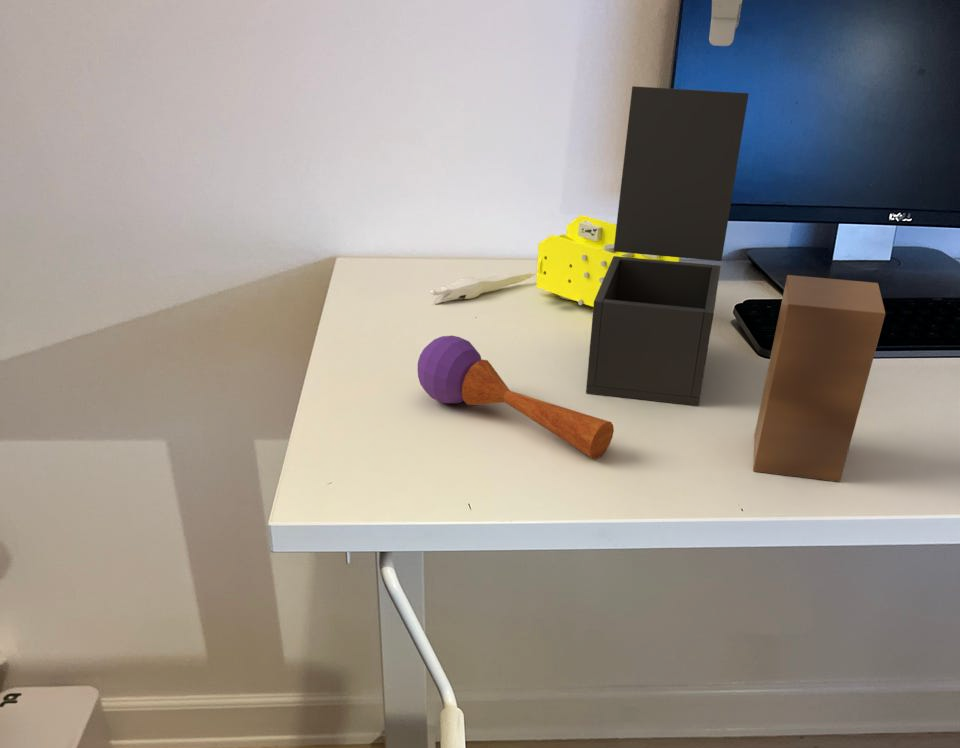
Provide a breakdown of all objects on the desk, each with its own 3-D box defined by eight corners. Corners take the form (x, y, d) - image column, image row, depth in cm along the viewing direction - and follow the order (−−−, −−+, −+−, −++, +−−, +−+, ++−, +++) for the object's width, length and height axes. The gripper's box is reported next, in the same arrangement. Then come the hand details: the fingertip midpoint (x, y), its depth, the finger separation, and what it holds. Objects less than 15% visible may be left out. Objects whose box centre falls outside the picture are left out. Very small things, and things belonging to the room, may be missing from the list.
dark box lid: (748, 93, 90) (748, 95, 95) (632, 86, 92) (637, 88, 96) (721, 261, 97) (722, 255, 101) (613, 251, 99) (618, 246, 103)
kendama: (581, 428, 79) (400, 345, 88) (579, 486, 84) (407, 401, 93) (624, 393, 82) (445, 315, 91) (620, 451, 87) (449, 371, 96)
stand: (836, 444, 87) (878, 282, 78) (839, 482, 81) (885, 313, 73) (754, 434, 88) (787, 274, 79) (752, 471, 82) (787, 303, 74)
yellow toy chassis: (674, 320, 110) (685, 242, 105) (642, 332, 107) (651, 253, 102) (566, 284, 119) (571, 210, 114) (533, 294, 116) (537, 219, 110)
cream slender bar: (437, 308, 112) (437, 291, 110) (424, 301, 113) (424, 284, 112) (541, 284, 119) (542, 268, 117) (528, 278, 120) (529, 262, 119)
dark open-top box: (698, 406, 92) (713, 312, 87) (585, 393, 94) (593, 300, 89) (706, 352, 103) (720, 265, 97) (605, 341, 105) (613, 255, 99)
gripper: (716, -185, 78) (692, 20, 87) (699, -201, 62) (672, 52, 71) (798, -186, 77) (766, 23, 86) (802, -202, 61) (762, 56, 70)
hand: (723, 37), depth 78 cm, fingers open, 8 cm apart
